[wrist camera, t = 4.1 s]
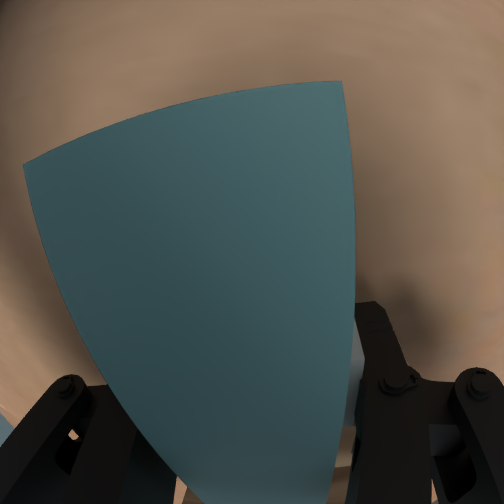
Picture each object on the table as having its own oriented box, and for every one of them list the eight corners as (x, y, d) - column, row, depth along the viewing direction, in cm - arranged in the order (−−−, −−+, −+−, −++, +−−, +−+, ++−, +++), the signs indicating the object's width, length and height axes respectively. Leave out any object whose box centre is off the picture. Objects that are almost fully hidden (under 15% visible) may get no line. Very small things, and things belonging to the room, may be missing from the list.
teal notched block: (218, 135, 10) (22, 165, 2) (301, 123, 10) (340, 81, 2) (267, 411, 16) (247, 539, 8) (317, 410, 16) (314, 541, 8)
